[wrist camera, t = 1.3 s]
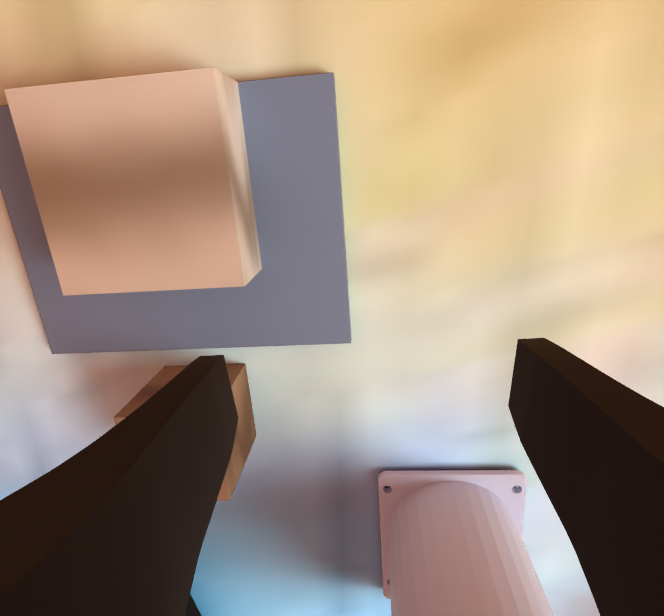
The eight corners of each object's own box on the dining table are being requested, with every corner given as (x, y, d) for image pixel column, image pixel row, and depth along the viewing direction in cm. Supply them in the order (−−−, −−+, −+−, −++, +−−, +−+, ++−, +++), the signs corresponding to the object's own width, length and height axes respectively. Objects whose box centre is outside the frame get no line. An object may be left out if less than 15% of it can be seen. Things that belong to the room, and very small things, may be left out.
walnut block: (256, 434, 24) (229, 500, 20) (180, 435, 25) (136, 500, 20) (245, 363, 23) (213, 415, 18) (165, 365, 23) (113, 417, 19)
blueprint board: (351, 338, 22) (348, 370, 18) (59, 349, 23) (7, 381, 20) (334, 75, 18) (326, 55, 15) (-13, 110, 20) (-93, 99, 16)
